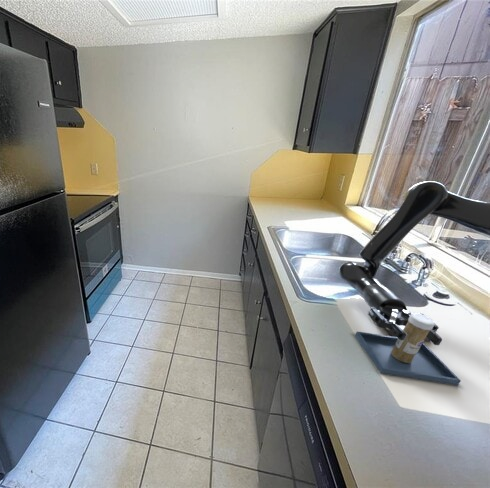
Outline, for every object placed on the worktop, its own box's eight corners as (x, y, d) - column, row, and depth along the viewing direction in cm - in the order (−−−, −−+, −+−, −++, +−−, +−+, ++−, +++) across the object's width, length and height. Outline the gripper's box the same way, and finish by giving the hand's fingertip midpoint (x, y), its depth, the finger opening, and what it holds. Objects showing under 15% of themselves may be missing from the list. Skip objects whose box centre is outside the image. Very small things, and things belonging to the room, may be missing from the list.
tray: (418, 345, 75) (421, 340, 74) (456, 386, 63) (461, 380, 62) (354, 336, 77) (356, 331, 76) (380, 374, 65) (383, 368, 64)
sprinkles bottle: (407, 366, 67) (431, 326, 62) (387, 354, 71) (408, 315, 65) (414, 359, 69) (438, 320, 64) (394, 348, 73) (415, 310, 67)
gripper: (361, 287, 79) (395, 324, 64) (413, 293, 77) (461, 333, 62) (352, 307, 82) (383, 346, 67) (402, 313, 80) (446, 355, 65)
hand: (421, 340), depth 64 cm, fingers open, 7 cm apart
